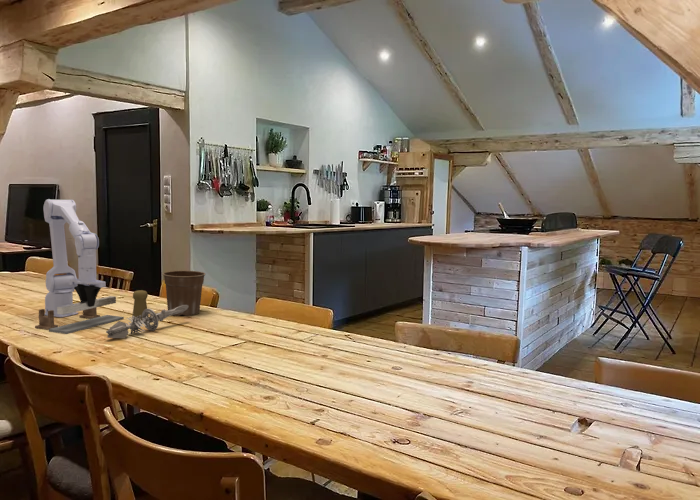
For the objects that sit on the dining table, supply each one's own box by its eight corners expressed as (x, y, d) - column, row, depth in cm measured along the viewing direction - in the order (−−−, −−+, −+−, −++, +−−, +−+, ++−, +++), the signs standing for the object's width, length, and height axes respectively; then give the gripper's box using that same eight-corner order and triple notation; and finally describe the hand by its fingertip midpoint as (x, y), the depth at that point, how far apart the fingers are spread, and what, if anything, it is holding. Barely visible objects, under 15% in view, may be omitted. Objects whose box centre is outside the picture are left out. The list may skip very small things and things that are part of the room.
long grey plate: (48, 331, 189) (48, 329, 189) (107, 316, 214) (107, 314, 214) (66, 333, 187) (66, 331, 186) (123, 319, 211) (123, 316, 211)
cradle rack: (35, 327, 194) (34, 310, 193) (87, 315, 215) (87, 299, 214) (48, 329, 191) (47, 311, 191) (100, 317, 213) (99, 300, 212)
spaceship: (197, 302, 206) (182, 292, 209) (116, 330, 176) (100, 318, 179) (193, 320, 209) (178, 310, 212) (112, 351, 179) (97, 338, 182)
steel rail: (57, 314, 189) (57, 307, 189) (110, 302, 211) (110, 296, 211) (62, 314, 188) (62, 307, 188) (115, 302, 210) (115, 296, 210)
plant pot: (213, 311, 228) (213, 272, 226) (186, 319, 213) (186, 277, 212) (182, 307, 235) (182, 269, 233) (153, 314, 220) (153, 273, 219)
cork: (151, 318, 213) (151, 289, 212) (144, 321, 207) (144, 292, 206) (136, 317, 214) (136, 289, 213) (128, 320, 208) (128, 291, 207)
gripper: (62, 267, 197) (63, 305, 198) (94, 270, 192) (95, 309, 193) (78, 265, 204) (79, 302, 205) (109, 268, 198) (110, 306, 200)
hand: (88, 305), depth 199 cm, fingers closed on steel rail, 2 cm apart
